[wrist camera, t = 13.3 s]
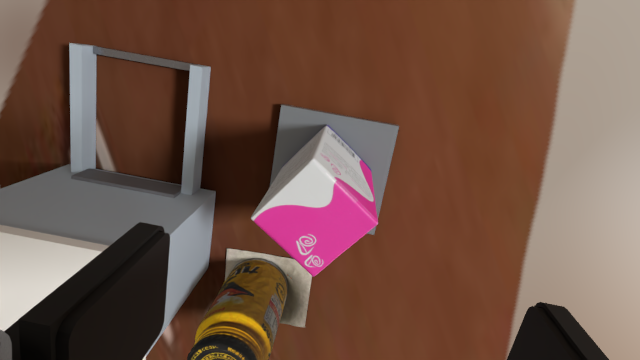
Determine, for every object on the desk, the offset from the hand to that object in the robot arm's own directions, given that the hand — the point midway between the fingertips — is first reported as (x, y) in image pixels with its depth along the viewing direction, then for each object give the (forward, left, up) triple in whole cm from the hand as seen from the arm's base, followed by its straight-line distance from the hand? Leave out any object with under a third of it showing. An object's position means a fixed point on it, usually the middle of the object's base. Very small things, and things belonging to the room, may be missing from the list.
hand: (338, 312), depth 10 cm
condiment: (+16, -5, -26) cm, 31 cm away
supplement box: (+3, -1, -25) cm, 25 cm away
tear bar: (-3, -18, -26) cm, 32 cm away
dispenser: (+6, -18, -26) cm, 32 cm away
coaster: (+3, -1, -26) cm, 26 cm away
